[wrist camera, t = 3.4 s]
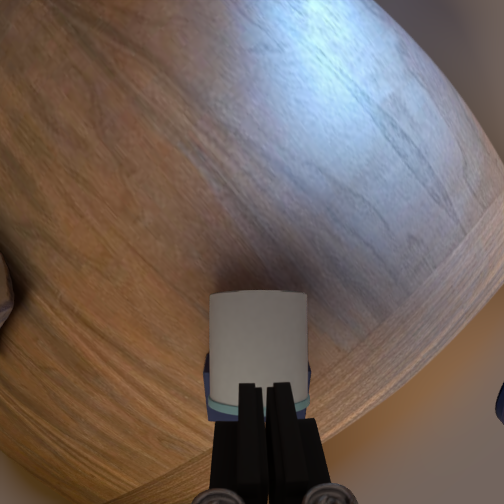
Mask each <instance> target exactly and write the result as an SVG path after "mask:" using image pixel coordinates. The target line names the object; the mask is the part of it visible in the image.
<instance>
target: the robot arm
mask: <svg viewBox="0 0 504 504" xmlns="http://www.w3.org/2000/svg"><path fill="white" fill-rule="evenodd" d="M268 495H269V504H358V502H357V500H356V498H355V496H354V495H353V493H352V492H351V491H350V490H349V489H348V488H346V487H345V486H342V485H339V484H335V483H331V481H330V476H329V472H328V468H327V464H326V460H325V456H324V452H323V448H322V444H321V440H320V436H319V432H318V428H317V424H316V421H315V419H314V418H307V419H297V414H296V409H295V404H294V398H293V393H292V388H291V383H290V382H274V383H273V387H267V396H266V422H265V421H264V408H263V395H262V387H255V383H239V394H238V421H216V422H215V429H214V440H213V451H212V462H211V474H210V486H209V489H208V490H205V491H203V492H201V493H199V494H198V495H197V496H196V497H195V498H194V500H193V501H192V503H191V504H267V501H268Z"/></svg>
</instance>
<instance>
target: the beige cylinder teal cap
mask: <svg viewBox="0 0 504 504" xmlns="http://www.w3.org/2000/svg"><path fill="white" fill-rule="evenodd" d="M209 359H210V395H209V396H208V405H209V407H210V408H212V409H214V410H216V411H219V412H222V413H226V414H231V415H238V394H239V383H255V387H262V395H263V408H264V416H266V396H267V387H273V383H274V382H290V383H291V388H292V393H293V398H294V404H295V409H296V412H297V411H300V410H303V409H305V408H306V407H308V405H309V404H310V396H309V394H308V325H307V294H306V293H303V292H297V291H283V290H243V291H226V292H218V293H213V294H210V309H209Z"/></svg>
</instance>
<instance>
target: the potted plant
mask: <svg viewBox="0 0 504 504" xmlns="http://www.w3.org/2000/svg"><path fill="white" fill-rule="evenodd" d="M13 305H14V292H13V288H12V279H11V277H10V273H9V269H8V267H7V265H6V263H5V260H4V256H3V254H2V253H1V252H0V328H1V326H2V325H3V323H4V321H5V320H6V319H7V318H8V316H9V314H10V313H11V311H12V309H13Z"/></svg>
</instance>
